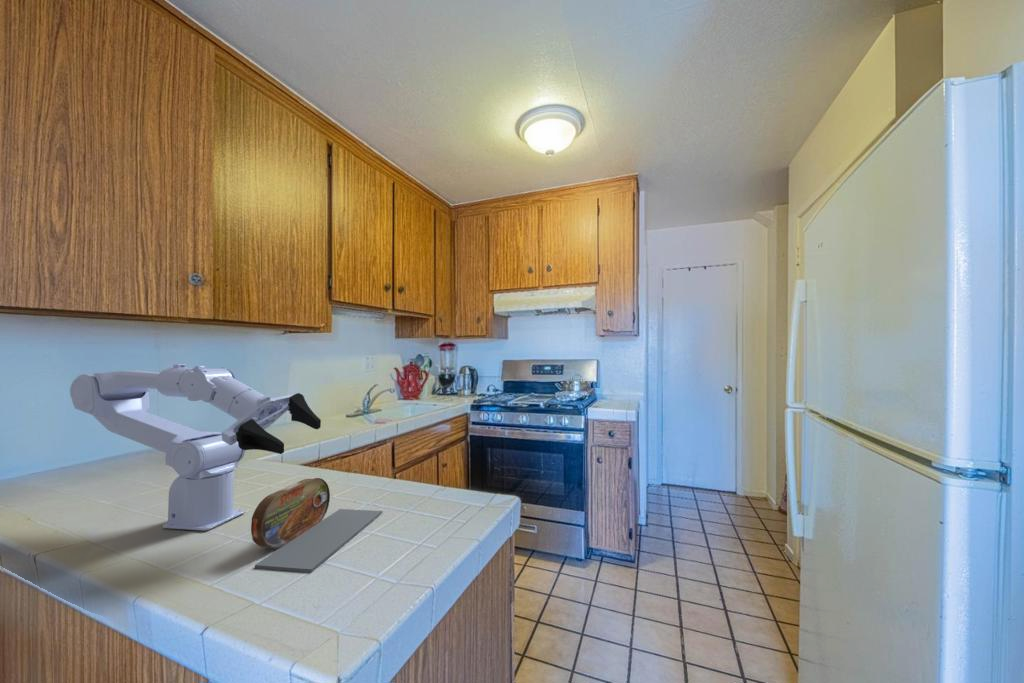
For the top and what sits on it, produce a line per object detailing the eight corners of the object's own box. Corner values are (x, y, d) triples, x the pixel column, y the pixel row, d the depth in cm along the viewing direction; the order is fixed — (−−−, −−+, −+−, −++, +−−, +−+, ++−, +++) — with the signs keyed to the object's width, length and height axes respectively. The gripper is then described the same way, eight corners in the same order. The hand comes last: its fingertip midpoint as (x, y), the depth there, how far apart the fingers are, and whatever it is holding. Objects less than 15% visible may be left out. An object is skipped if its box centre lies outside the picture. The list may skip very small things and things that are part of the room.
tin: (263, 559, 55) (264, 502, 56) (245, 557, 56) (247, 500, 56) (331, 517, 70) (331, 472, 71) (316, 516, 71) (317, 471, 71)
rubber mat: (254, 567, 53) (254, 565, 53) (339, 511, 73) (339, 508, 73) (311, 572, 52) (311, 569, 52) (382, 513, 71) (382, 511, 71)
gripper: (200, 406, 60) (262, 443, 57) (279, 370, 73) (334, 399, 70) (204, 438, 63) (263, 474, 61) (280, 398, 76) (332, 426, 73)
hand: (301, 436), depth 66 cm, fingers open, 7 cm apart
